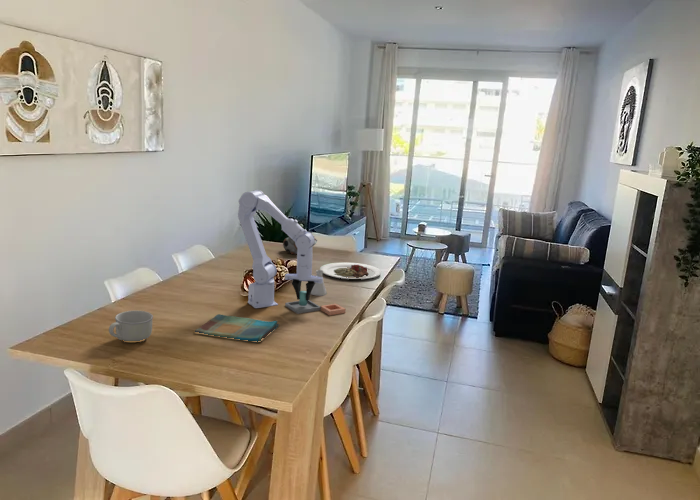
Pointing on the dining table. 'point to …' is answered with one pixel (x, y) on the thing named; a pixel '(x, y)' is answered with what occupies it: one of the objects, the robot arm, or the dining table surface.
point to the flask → (319, 286)
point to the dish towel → (237, 328)
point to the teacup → (132, 325)
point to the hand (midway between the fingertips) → (303, 299)
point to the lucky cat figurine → (292, 245)
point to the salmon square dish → (332, 309)
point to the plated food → (349, 270)
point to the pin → (302, 298)
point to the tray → (302, 307)
